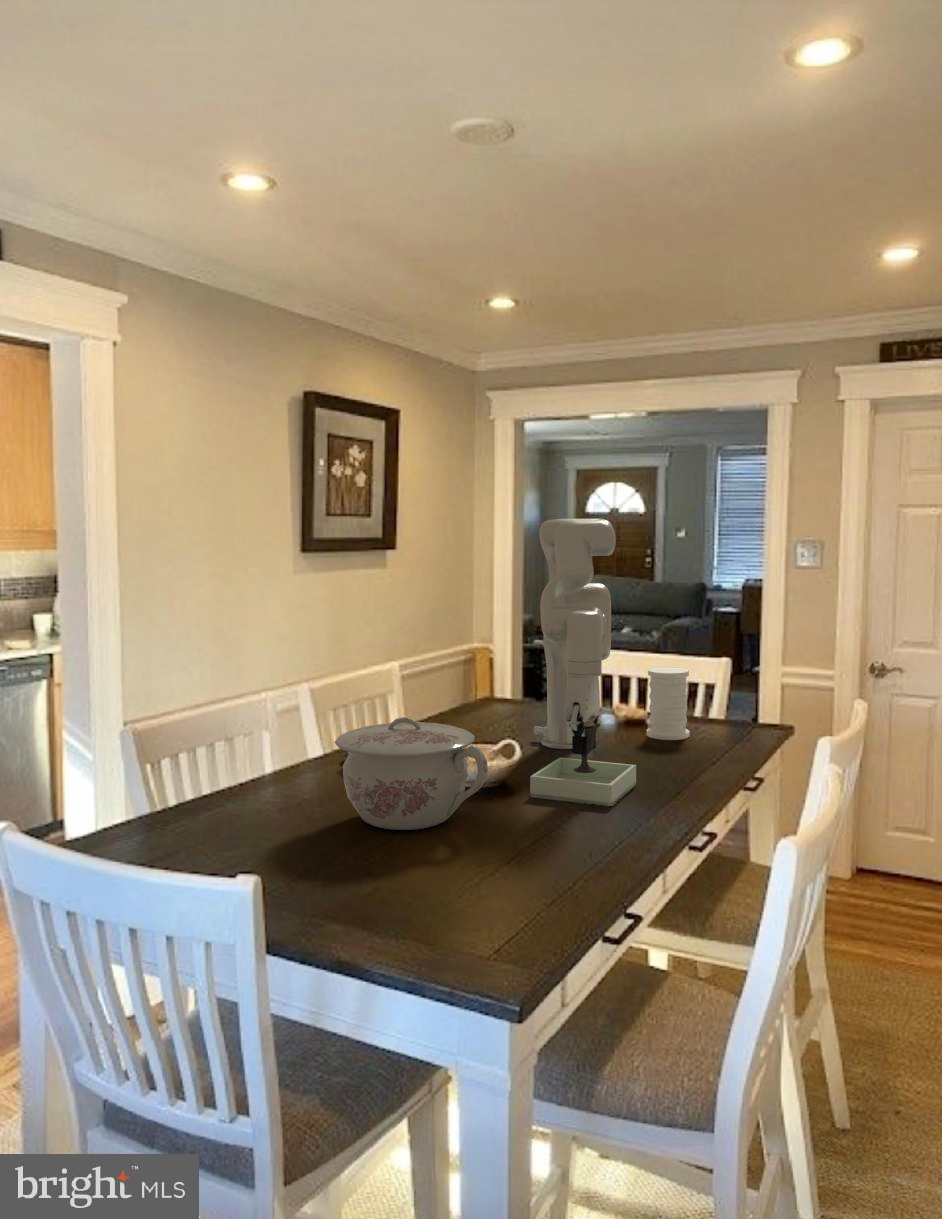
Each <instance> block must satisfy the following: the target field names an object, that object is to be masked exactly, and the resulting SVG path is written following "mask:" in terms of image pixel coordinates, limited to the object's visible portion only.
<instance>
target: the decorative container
mask: <svg viewBox="0 0 942 1219" xmlns="http://www.w3.org/2000/svg"><path fill="white" fill-rule="evenodd" d="M647 675H648V676H649V677H650V681H649V683H648V686H649V689H650V692H649V695H648V696H649V697H648V698H649V700H650V704H649V706H648V708H649V709H648V710H649V712H650V716H649V718H648V721H649V723H650V724H649V726H650V727H649V728H647V729H646V736H647V737H648V738H651V739H654V740H659V741H660V740H662V741H679V740H686V739H689V738H690V736H691V735H690V734H691V733H690V732H691V731H690V730H688V729H687V728H686V727H687V725H686V724H687V722H688V719H687V714H686V713H687V711H688V706H687V700H688V694H687V688H688V683H687V677H689V669H686V668H681V667H670V666H669V667H668V666H664V667H652V668H648V669H647ZM688 737H689V738H688Z"/></svg>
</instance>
